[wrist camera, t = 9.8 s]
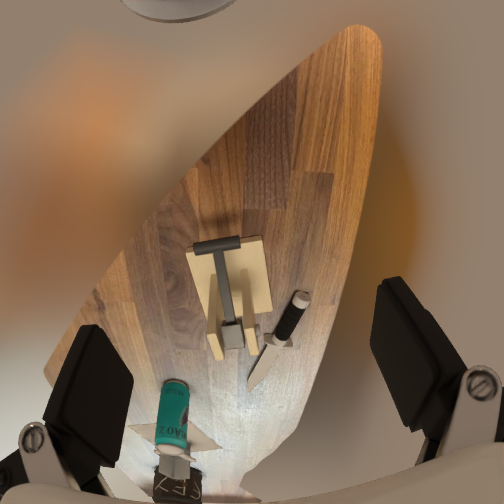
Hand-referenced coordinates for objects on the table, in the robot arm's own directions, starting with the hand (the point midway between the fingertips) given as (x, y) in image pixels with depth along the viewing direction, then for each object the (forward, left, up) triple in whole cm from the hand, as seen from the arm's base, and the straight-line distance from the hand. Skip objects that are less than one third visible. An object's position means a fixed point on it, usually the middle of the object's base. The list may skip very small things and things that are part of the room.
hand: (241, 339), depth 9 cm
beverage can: (+29, -35, -28) cm, 54 cm away
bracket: (+14, -10, -28) cm, 33 cm away
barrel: (+72, -77, -28) cm, 109 cm away
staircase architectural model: (+49, -55, -28) cm, 79 cm away
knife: (+30, -13, -28) cm, 43 cm away
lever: (+11, -8, -20) cm, 25 cm away
